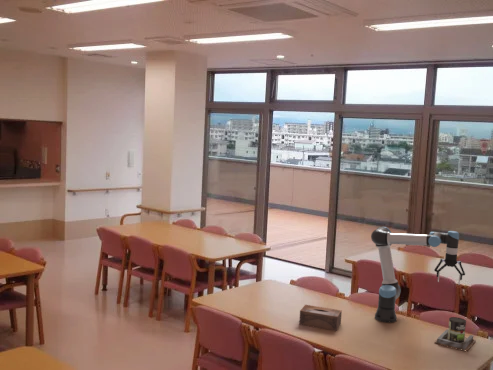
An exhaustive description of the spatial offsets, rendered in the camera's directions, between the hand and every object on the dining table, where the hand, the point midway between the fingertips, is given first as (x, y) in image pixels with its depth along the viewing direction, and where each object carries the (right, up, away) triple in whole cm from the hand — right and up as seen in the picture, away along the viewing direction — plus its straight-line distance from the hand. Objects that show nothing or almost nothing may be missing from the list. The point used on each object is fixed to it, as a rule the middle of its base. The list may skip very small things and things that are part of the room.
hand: (448, 283), depth 378 cm
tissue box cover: (-91, -27, -8) cm, 95 cm away
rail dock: (-7, -33, -30) cm, 45 cm away
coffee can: (-6, -32, -30) cm, 44 cm away
